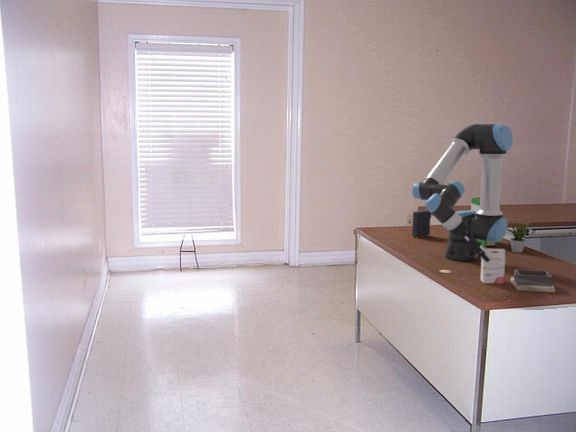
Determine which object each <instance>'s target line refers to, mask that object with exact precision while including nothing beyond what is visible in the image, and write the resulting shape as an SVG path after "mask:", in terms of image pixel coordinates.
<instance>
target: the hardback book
mask: <svg viewBox="0 0 576 432" xmlns="http://www.w3.org/2000/svg"><path fill="white" fill-rule="evenodd" d="M500 204H501V201H500ZM479 209H480V197H471V206H470V210H471V211H475V212H477V211H478V210H479ZM476 240H477V241H478V242H481V243H482V244H481V245H482V246H483V247H484V248H487V246H494V247H495V248H497V247H499V242H488V241H484V240H478V239H476Z"/></svg>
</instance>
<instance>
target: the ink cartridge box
mask: <svg viewBox="0 0 576 432" xmlns="http://www.w3.org/2000/svg"><path fill="white" fill-rule="evenodd" d="M485 253H486V254H487V255H488V256H489V257H490V258H491V259H492V260H493V261H494V262H495V263H496V264H497V265H496V266H494V267H493V268H492V269H491V268H490V267H489V266H488V265H487V264H486V263H485V262H484V261H483V260H482V259H481V258H480V260H481V261H480V281H481V282H482V284H499V285H500V284H504V283H505V274H506V273H505V269H506V249H505V248H485Z"/></svg>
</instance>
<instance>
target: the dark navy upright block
mask: <svg viewBox="0 0 576 432" xmlns="http://www.w3.org/2000/svg"><path fill="white" fill-rule="evenodd" d="M431 218H432V213H430V211H429V210H428V209H426V210H419V211H413V212H412V232H411V233H412V234H411V235H412V236H414V237H420V238H422V237H421V236H426V237H428V236H427V235H429V236H430V234H431V233H430V230H431V229H430V228H431ZM414 237H413V238H414Z"/></svg>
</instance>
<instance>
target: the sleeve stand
mask: <svg viewBox="0 0 576 432" xmlns="http://www.w3.org/2000/svg"><path fill="white" fill-rule="evenodd" d="M510 282H511V283H512V285H513V287H514V288H515V290H516V291H525V292H527V291H528V292H540V293H541V292H542V293H555V292H556V287H554V286H553V276H552V275H551V274H550V272H549V271H547V270H538V269H537V270H536V269H535V270H533V269H517V268H515V269H514V270H513V276H510Z"/></svg>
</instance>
